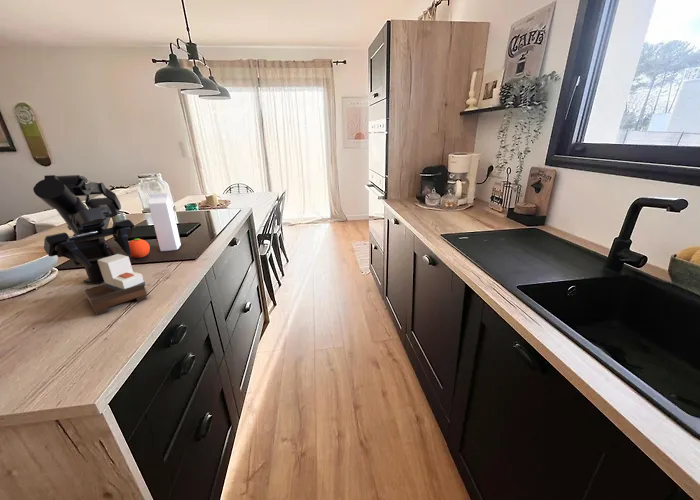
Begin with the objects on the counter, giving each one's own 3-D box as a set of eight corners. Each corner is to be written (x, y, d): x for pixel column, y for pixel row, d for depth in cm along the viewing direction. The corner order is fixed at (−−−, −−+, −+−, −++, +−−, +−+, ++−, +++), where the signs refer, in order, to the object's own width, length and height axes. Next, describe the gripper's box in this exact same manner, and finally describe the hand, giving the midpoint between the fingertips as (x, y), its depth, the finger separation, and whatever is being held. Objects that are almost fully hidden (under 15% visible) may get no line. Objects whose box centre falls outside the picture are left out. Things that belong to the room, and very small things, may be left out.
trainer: (104, 286, 78) (95, 259, 75) (125, 279, 83) (117, 253, 80) (125, 294, 74) (116, 265, 72) (145, 285, 79) (138, 258, 76)
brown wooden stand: (87, 299, 78) (81, 284, 76) (135, 285, 85) (131, 271, 84) (96, 315, 70) (90, 299, 69) (148, 298, 78) (143, 283, 76)
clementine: (133, 254, 109) (127, 236, 107) (154, 251, 112) (149, 234, 109) (127, 261, 102) (121, 243, 100) (150, 258, 105) (145, 240, 102)
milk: (177, 250, 113) (164, 194, 106) (160, 251, 112) (145, 195, 104) (181, 245, 119) (169, 191, 111) (164, 246, 117) (151, 192, 109)
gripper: (29, 203, 65) (69, 256, 65) (121, 191, 81) (154, 233, 80) (29, 231, 72) (66, 280, 71) (114, 215, 87) (145, 255, 86)
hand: (111, 260), depth 77 cm, fingers open, 9 cm apart
